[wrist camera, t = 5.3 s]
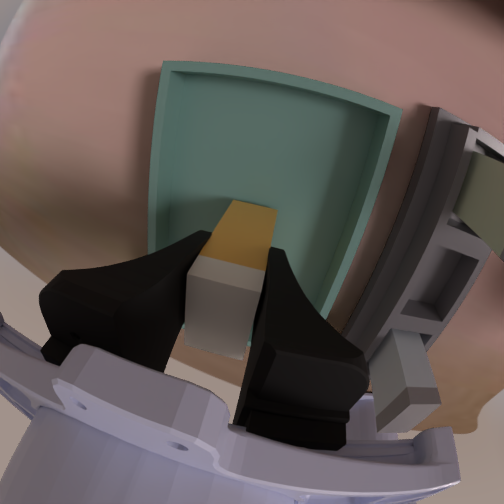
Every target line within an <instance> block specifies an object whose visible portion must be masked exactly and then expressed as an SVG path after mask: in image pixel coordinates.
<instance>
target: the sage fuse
mask: <svg viewBox="0 0 504 504" xmlns="http://www.w3.org/2000/svg"><path fill="white" fill-rule="evenodd" d="M452 212H453V213H454V214H456V215H457V216H458V217H459V218H460V219H461V220H462V221H463V222H465V223H466V224H467V225H468V226H469V227H470V228H471V229H472V230H473V231H474V232H475V233H476V234H477V235H478V236H479V237H480V238H481V239H482V240H483V241H484V242H485V243H486V244H487V245H488V246H489V247H490V248H491V249H492V250H493V251H494V252H495V253H496V254H497V255H498V256H499V257H500V258H501V259H502V261H503V262H504V163H502V162H499V161H497V160H495V159H493V158H490V157H488V156H485V155H483V154H481V153H478V152H476V151H473V153H472V156H471V160H470V163H469V166H468V169H467V172H466V175H465V178H464V181H463V184H462V187H461V190H460V192H459V195H458V198H457V200H456V203H455V205H454V208H453V210H452Z"/></svg>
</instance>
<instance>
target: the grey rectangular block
mask: <svg viewBox="0 0 504 504" xmlns="http://www.w3.org/2000/svg"><path fill="white" fill-rule="evenodd" d="M368 364H369V371H370V377H371V384H372V392H373V400H374V408H375V417H376V428H377V433H401V432H408V431H410V430H411V429H412V428H413V427H415V426H416V425H417V424H419V423H420V422H421V421H422V420H424V419H425V418H426V417H427V416H428V415H430V414H431V413H432V412H433V411H434V410H435V409H437V408H438V407H439V406H440V405H441V404H442V403H441V400H440V396H439V392H438V389H437V385H436V382H435V378H434V375H433V372H432V369H431V365H430V362H429V359H428V356H427V353H426V350H425V348H424V345H423V342H422V339H421V336H420V334H419V333H417V332H411V331H405V330H399V329H393V328H390V330H389V332H388V333H387V335H386V336H385V337H384V339H383V340H382V342H381V343H380V345H379V346H378V348H377V349H376V350H375V352H374V353H373V355H372V356H371V357H370V359H369V360H368Z"/></svg>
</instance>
